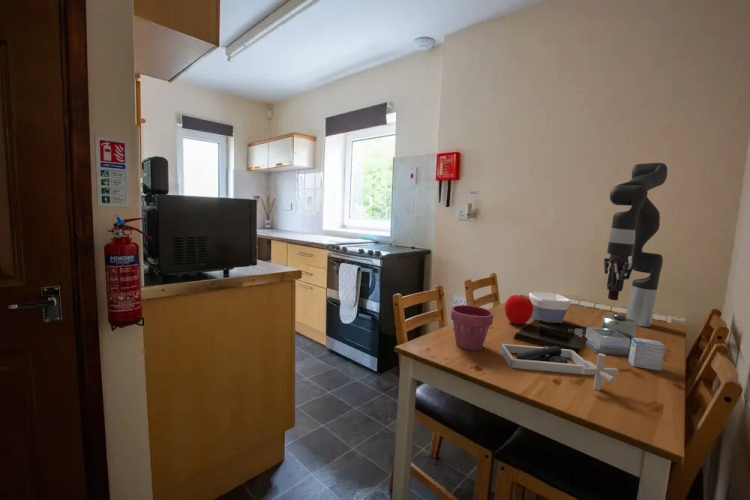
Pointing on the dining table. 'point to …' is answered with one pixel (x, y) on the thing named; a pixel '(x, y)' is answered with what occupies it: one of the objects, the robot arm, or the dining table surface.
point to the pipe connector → (599, 371)
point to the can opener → (544, 355)
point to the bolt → (613, 281)
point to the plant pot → (471, 325)
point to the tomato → (518, 309)
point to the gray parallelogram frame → (542, 365)
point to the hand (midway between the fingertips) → (614, 288)
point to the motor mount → (610, 335)
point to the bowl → (549, 306)
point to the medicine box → (646, 354)
